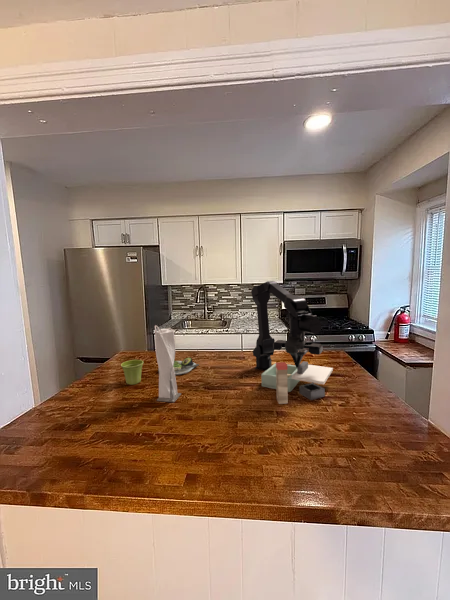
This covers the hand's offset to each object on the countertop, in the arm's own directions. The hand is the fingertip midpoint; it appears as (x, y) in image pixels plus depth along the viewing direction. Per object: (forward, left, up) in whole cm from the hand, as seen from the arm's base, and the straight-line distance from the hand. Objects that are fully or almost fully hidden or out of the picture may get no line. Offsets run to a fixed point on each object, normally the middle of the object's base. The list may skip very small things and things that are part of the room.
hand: (297, 367), depth 116 cm
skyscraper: (-41, -32, -8) cm, 52 cm away
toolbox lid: (+6, +1, -2) cm, 6 cm away
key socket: (+7, -6, -7) cm, 12 cm away
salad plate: (-58, -6, -8) cm, 59 cm away
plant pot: (-65, -28, -8) cm, 71 cm away
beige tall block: (-1, -16, -7) cm, 18 cm away
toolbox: (-7, +1, -7) cm, 10 cm away
